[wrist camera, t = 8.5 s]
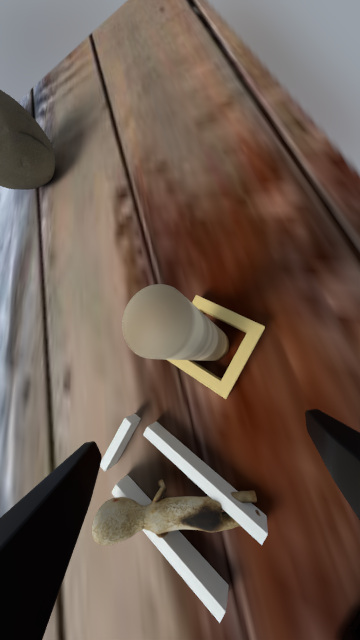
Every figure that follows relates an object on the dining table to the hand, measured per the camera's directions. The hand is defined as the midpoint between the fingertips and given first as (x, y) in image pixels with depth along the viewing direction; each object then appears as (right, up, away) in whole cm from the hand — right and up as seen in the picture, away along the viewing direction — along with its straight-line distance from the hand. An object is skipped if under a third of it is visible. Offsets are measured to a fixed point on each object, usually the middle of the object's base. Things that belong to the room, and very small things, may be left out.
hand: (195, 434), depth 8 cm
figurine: (0, -13, +12) cm, 18 cm away
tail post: (+3, +2, +14) cm, 14 cm away
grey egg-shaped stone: (-29, +34, +34) cm, 56 cm away
